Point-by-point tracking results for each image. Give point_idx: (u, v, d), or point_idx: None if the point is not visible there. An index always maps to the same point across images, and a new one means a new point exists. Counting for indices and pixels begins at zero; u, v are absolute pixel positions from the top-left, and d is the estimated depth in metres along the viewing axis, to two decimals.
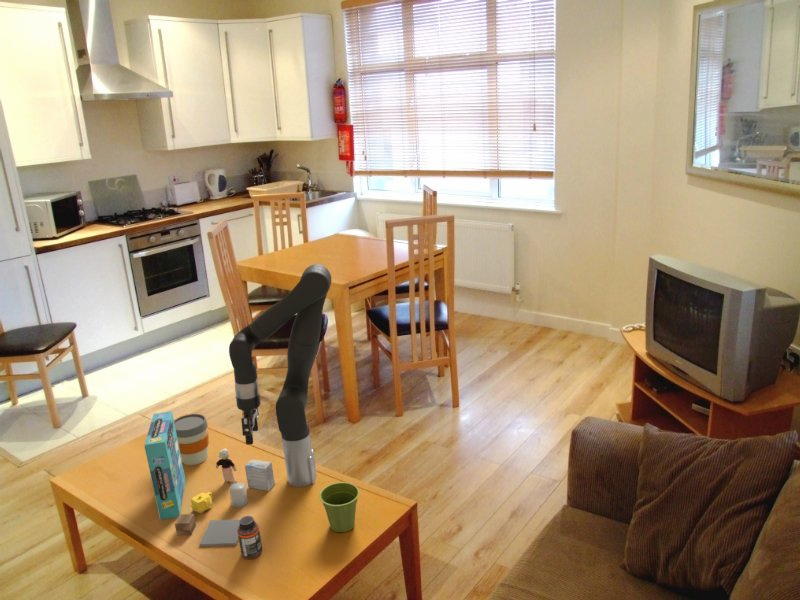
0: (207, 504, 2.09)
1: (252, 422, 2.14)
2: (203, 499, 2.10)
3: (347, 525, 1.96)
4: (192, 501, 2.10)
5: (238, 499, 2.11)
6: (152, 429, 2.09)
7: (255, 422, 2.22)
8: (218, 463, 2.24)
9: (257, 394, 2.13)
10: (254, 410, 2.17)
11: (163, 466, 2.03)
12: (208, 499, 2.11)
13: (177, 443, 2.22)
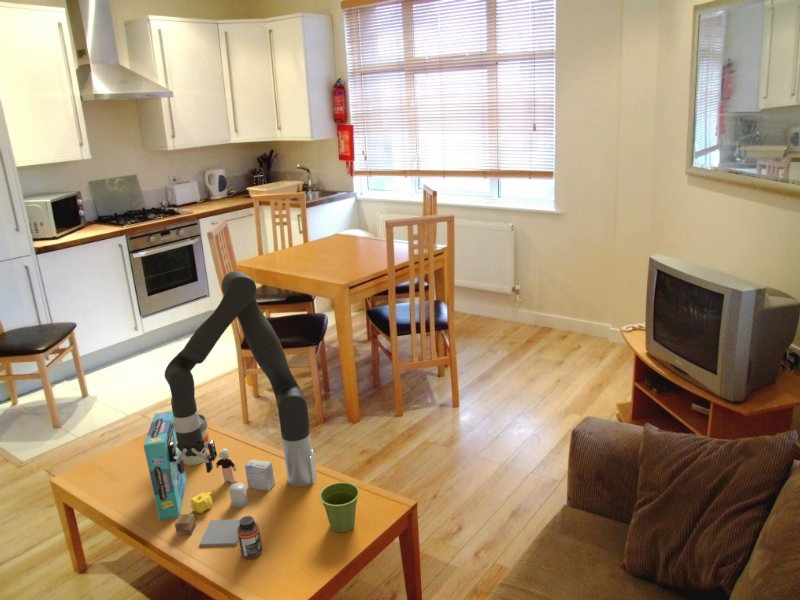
0: (207, 504, 2.09)
1: (204, 448, 2.06)
2: (203, 499, 2.10)
3: (347, 525, 1.96)
4: (192, 501, 2.10)
5: (238, 499, 2.11)
6: (153, 429, 2.09)
7: (182, 462, 2.07)
8: (218, 463, 2.24)
9: None
10: None
11: (162, 466, 2.03)
12: (208, 499, 2.11)
13: None
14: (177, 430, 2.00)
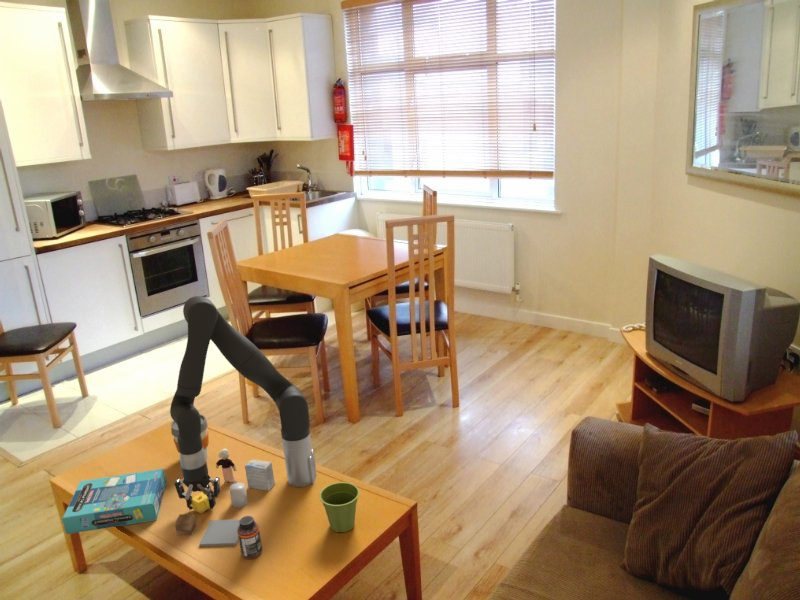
0: (207, 504, 2.09)
1: (208, 484, 2.10)
2: (203, 499, 2.10)
3: (347, 525, 1.96)
4: (192, 501, 2.10)
5: (238, 499, 2.11)
6: None
7: (191, 498, 2.11)
8: (218, 463, 2.24)
9: None
10: None
11: (91, 518, 2.05)
12: (208, 499, 2.11)
13: (114, 478, 2.22)
14: (183, 467, 2.03)
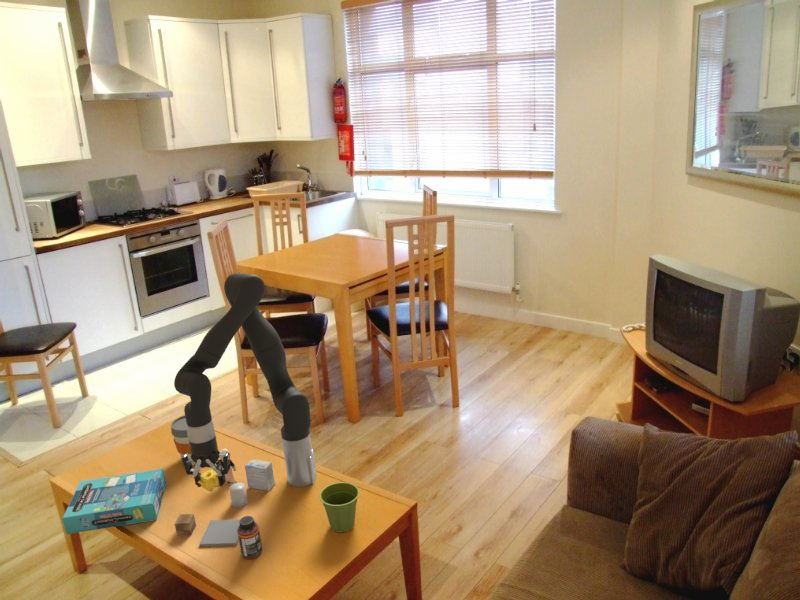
0: (217, 481, 1.95)
1: (218, 460, 1.96)
2: (212, 476, 1.96)
3: (347, 525, 1.96)
4: (201, 478, 1.96)
5: (238, 499, 2.11)
6: None
7: (200, 474, 1.97)
8: None
9: None
10: None
11: (91, 518, 2.05)
12: None
13: (114, 478, 2.22)
14: (191, 440, 1.89)
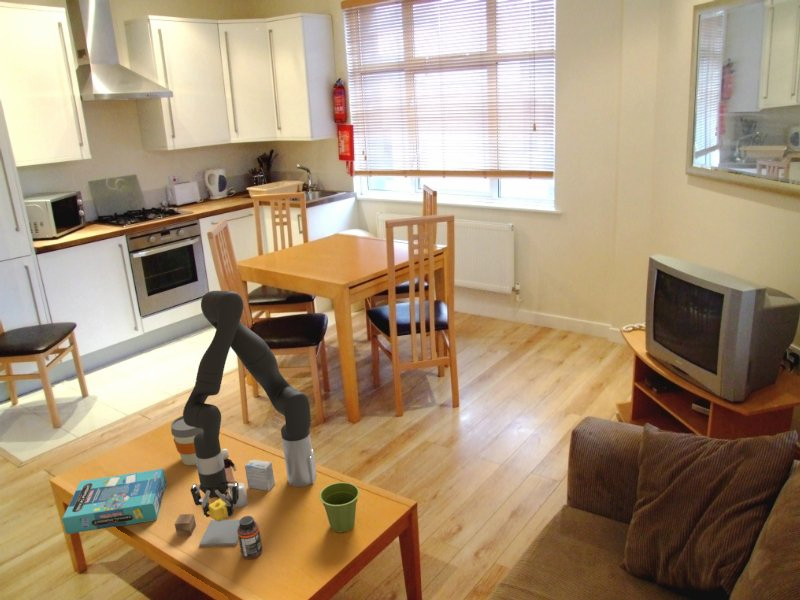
0: (225, 511, 1.96)
1: (226, 490, 1.97)
2: (221, 506, 1.96)
3: (347, 525, 1.96)
4: (209, 508, 1.97)
5: (238, 499, 2.11)
6: None
7: (208, 505, 1.98)
8: None
9: None
10: None
11: (91, 518, 2.05)
12: (226, 506, 1.98)
13: (114, 478, 2.22)
14: (200, 471, 1.90)
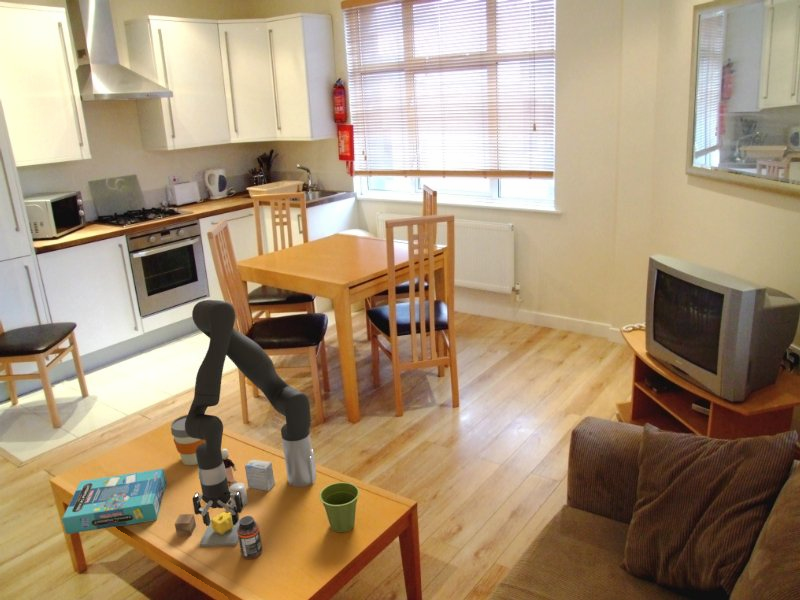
0: (229, 525, 1.97)
1: (229, 500, 1.98)
2: (224, 519, 1.98)
3: (347, 525, 1.96)
4: (213, 522, 1.98)
5: None
6: None
7: (208, 513, 1.99)
8: None
9: None
10: None
11: (91, 518, 2.05)
12: (229, 519, 1.99)
13: (114, 478, 2.22)
14: (202, 482, 1.91)
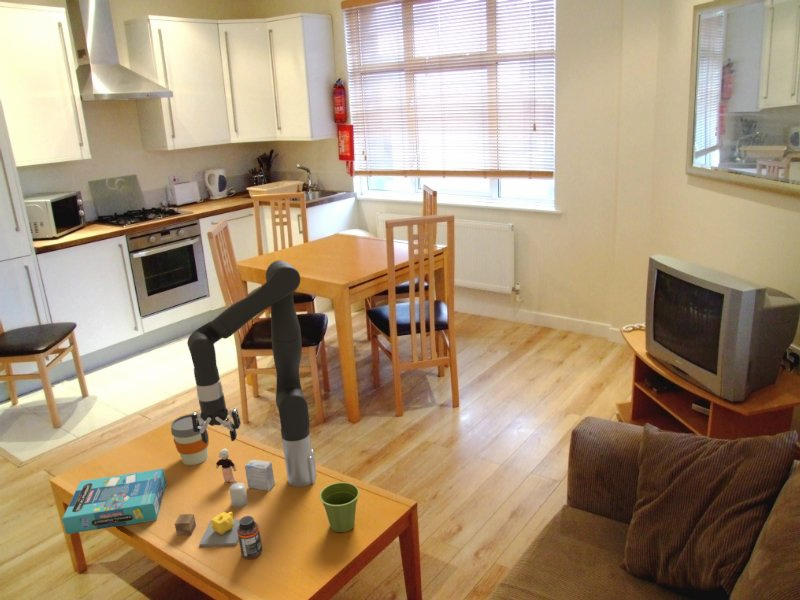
0: (229, 525, 1.97)
1: (227, 417, 2.07)
2: (224, 519, 1.98)
3: (347, 525, 1.96)
4: (213, 522, 1.98)
5: (238, 499, 2.11)
6: None
7: (206, 431, 2.08)
8: (218, 463, 2.24)
9: None
10: None
11: (91, 518, 2.05)
12: (229, 519, 1.99)
13: (114, 478, 2.22)
14: (201, 399, 2.00)
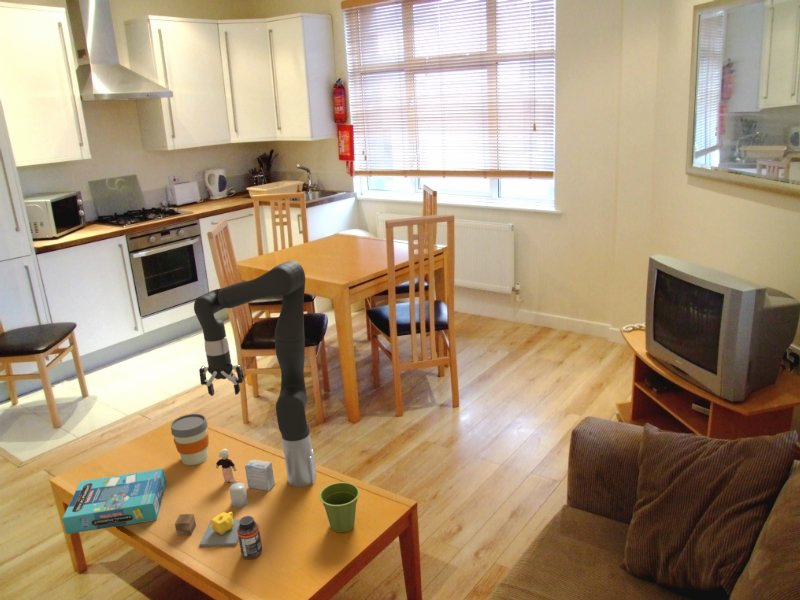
0: (229, 525, 1.97)
1: (232, 372, 2.25)
2: (224, 519, 1.98)
3: (347, 525, 1.96)
4: (213, 522, 1.98)
5: (238, 499, 2.11)
6: None
7: (212, 385, 2.26)
8: (218, 463, 2.24)
9: None
10: None
11: (91, 518, 2.05)
12: (229, 519, 1.99)
13: (114, 478, 2.22)
14: (208, 353, 2.18)
